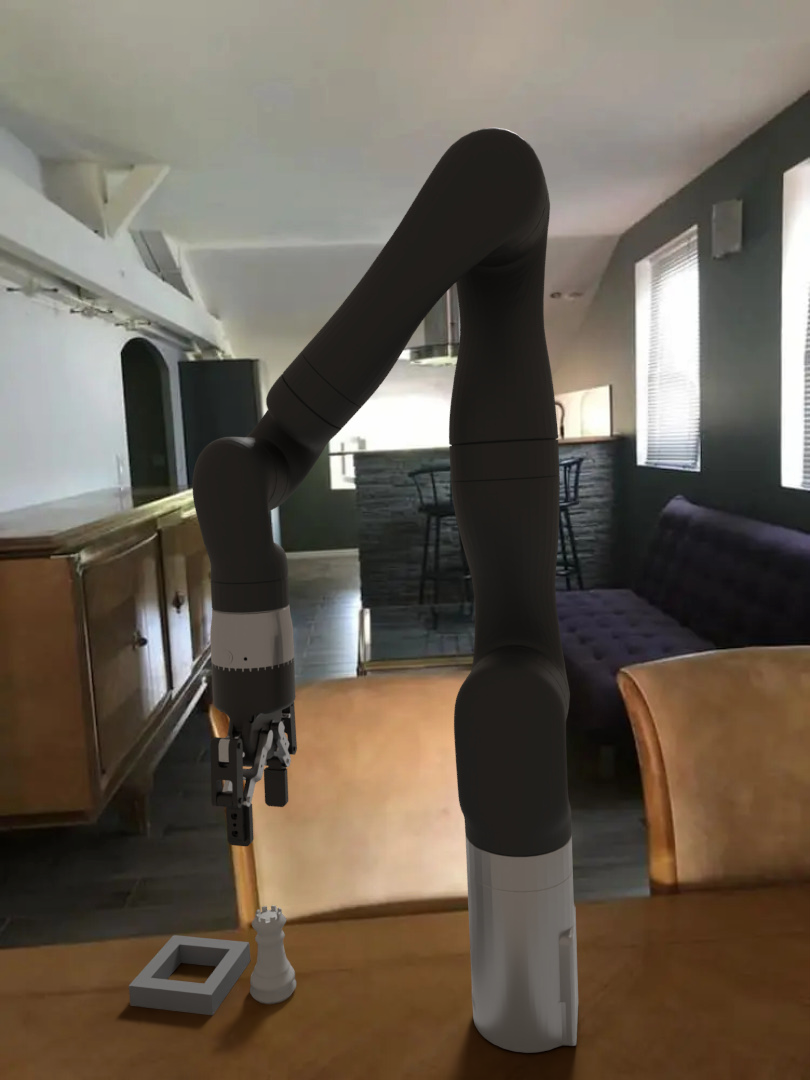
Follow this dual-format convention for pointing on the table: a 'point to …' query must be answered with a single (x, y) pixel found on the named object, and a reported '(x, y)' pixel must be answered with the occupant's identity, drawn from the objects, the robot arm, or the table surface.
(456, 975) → the table surface
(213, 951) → the socket plinth
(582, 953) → the table surface
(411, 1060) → the table surface
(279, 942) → the rook chess piece
